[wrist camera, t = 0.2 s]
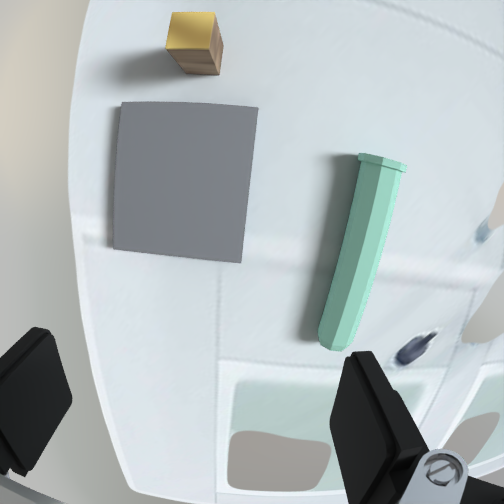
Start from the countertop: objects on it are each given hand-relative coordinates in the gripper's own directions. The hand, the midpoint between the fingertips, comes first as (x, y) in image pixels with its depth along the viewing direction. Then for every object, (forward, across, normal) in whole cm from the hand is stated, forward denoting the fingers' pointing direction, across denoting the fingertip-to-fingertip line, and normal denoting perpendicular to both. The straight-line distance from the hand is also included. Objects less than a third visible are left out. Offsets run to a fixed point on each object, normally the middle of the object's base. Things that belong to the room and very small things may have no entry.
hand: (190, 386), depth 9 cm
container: (+31, -15, +4) cm, 35 cm away
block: (+31, +4, -19) cm, 36 cm away
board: (+31, +6, -4) cm, 32 cm away
